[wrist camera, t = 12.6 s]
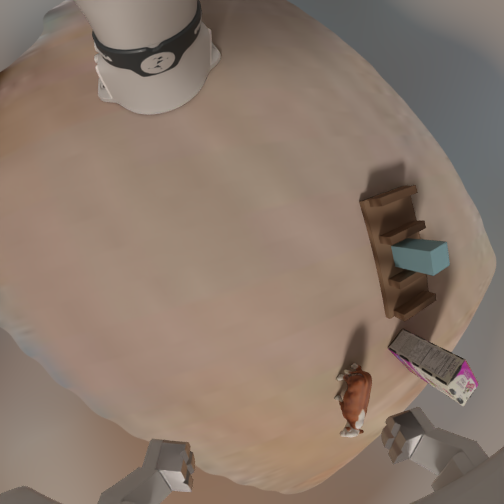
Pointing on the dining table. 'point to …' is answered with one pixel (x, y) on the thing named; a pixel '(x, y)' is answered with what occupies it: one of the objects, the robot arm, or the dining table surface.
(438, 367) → the candy bar box
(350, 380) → the bull figurine
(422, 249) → the teal rectangular block
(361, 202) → the rack
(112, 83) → the robot arm
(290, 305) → the dining table surface
